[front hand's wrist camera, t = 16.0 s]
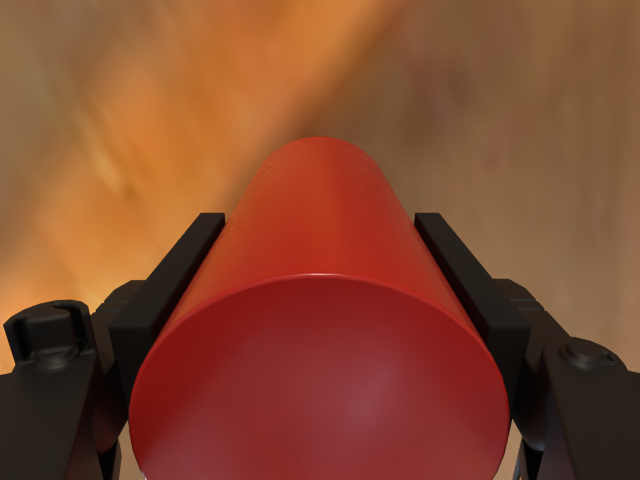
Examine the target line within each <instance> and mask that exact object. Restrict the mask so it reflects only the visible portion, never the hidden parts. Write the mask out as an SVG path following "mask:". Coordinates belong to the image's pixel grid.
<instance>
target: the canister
mask: <svg viewBox="0 0 640 480" xmlns="http://www.w3.org/2000/svg"><path fill="white" fill-rule="evenodd" d="M509 420H510V412H509V403H508V395H507V391H506V388H505V385H504V381H503V378H502V375H501V373H500V371H499V369H498V367H497V365H496V363H495V361H494V359H493V357H492V355H491V353H490V351H489V350H488V348H487V346H486V345H485V343H484V341H483V340H482V338H481V336H480V335H479V333H478V331H477V330H476V328H475V326H474V325H473V323H472V321H471V320H470V318H469V316H468V315H467V313H466V311H465V310H464V308H463V306H462V305H461V303H460V301H459V300H458V298H457V296H456V295H455V293H454V291H453V290H452V288H451V286H450V285H449V283H448V281H447V280H446V278H445V276H444V275H443V273H442V271H441V270H440V268H439V266H438V265H437V263H436V261H435V260H434V258H433V256H432V255H431V253H430V251H429V250H428V248H427V246H426V245H425V243H424V241H423V240H422V238H421V236H420V235H419V233H418V231H417V230H416V228H415V226H414V225H413V223H412V221H411V220H410V218H409V216H408V215H407V213H406V211H405V210H404V208H403V206H402V205H401V203H400V201H399V200H398V198H397V196H396V195H395V193H394V191H393V190H392V188H391V186H390V185H389V183H388V181H387V180H386V178H385V176H384V175H383V173H382V171H381V170H380V168H379V167H378V166H377V164H376V163H375V162H374V161H373V159H372V158H371V157H370V156H369V155H367V154H366V153H365V152H364V151H363V150H361V149H360V148H358V147H356V146H355V145H353V144H351V143H348V142H346V141H343V140H340V139H336V138H331V137H308V138H303V139H299V140H295V141H293V142H291V143H288V144H286V145H284V146H283V147H281V148H279V149H278V150H276V151H275V152H274V153H273V154H271V155H270V156H269V157H268V158H267V159H266V160H265V161H264V163H263V164H262V165H261V167H260V168H259V169H258V171H257V173H256V174H255V176H254V178H253V179H252V181H251V183H250V184H249V186H248V188H247V189H246V191H245V193H244V194H243V196H242V198H241V199H240V201H239V203H238V204H237V206H236V208H235V209H234V211H233V213H232V214H231V216H230V218H229V219H228V221H227V223H226V224H225V226H224V228H223V229H222V231H221V233H220V234H219V236H218V238H217V239H216V241H215V243H214V244H213V246H212V248H211V249H210V251H209V253H208V254H207V256H206V258H205V259H204V261H203V263H202V264H201V266H200V268H199V269H198V271H197V273H196V274H195V276H194V278H193V279H192V281H191V283H190V284H189V286H188V288H187V289H186V291H185V292H184V294H183V296H182V297H181V299H180V301H179V302H178V304H177V306H176V307H175V309H174V311H173V312H172V314H171V316H170V317H169V319H168V321H167V322H166V324H165V326H164V327H163V329H162V331H161V332H160V334H159V336H158V337H157V339H156V341H155V342H154V344H153V346H152V347H151V349H150V351H149V352H148V354H147V356H146V358H145V360H144V362H143V364H142V365H141V367H140V369H139V371H138V374H137V377H136V380H135V383H134V386H133V389H132V393H131V399H130V406H129V433H130V439H131V444H132V449H133V453H134V455H135V458H136V461H137V463H138V466H139V469H140V470H141V472H142V474H143V476H144V478H145V479H146V480H493V478H494V477H495V475H496V473H497V471H498V469H499V466H500V464H501V461H502V459H503V457H504V454H505V450H506V445H507V441H508V436H509Z"/></svg>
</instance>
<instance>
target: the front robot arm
mask: <svg viewBox="0 0 640 480" xmlns="http://www.w3.org/2000/svg"><path fill="white" fill-rule="evenodd" d="M224 226H225V213H200V215H199V216H198V217H197V218H196V219H195V221H194V222H193V223H192V224H191V226H190V227H189V228H188V229H187V230H186V232H185V233H184V234H183V235H182V237H181V238H180V239H179V240H178V241H177V243H176V244H175V245H174V246H173V248H172V249H171V250H170V251H169V252H168V254H167V255H166V256H165V257H164V259H163V260H162V261H161V262H160V264H159V265H158V266H157V267H156V268H155V270H154V271H153V272H152V273H151V275H150V276H149V277H148V278H147V279H146V280H131V281H129V282H127V283H125V284H124V285H122V286H120V287H118V288H117V289H115V290H114V291H113V292H112V293H111V294H110V295H109V296H108V297H107V298H106V299H105V301H104V303H102V304H101V305H100V306H99V307H98V308H97V309H96V312H93V314H92V315H91V316H90V313H89V308H88V306H87V305H86V304H84V303H83V302H81V301H76V300H55V301H50V302H46V303H41V304H38V305H35V306H32V307H30V308H27V309H24V310H22V311H21V312H19V313H17V314H15V315H13V316H12V317H11V318H9V319H8V320H7V321H6V322H5V323H4V324H3V326H4V329H5V333H6V336H7V339H8V342H9V345H10V348H11V351H12V355H13V358H14V361H15V364H16V365H15V367H14V369H13V371H12V373H8V374H3V375H0V480H119V473H120V465H121V457H122V455H121V449H120V444H119V440H118V437H119V435H120V433H121V431H122V429H123V427H124V426H125V424H126V422H127V420H128V424H129V406H130V399H131V393H132V389H133V386H134V383H135V380H136V377H137V374H138V371H139V369H140V367H141V365H142V364H143V362H144V360H145V358H146V356H147V354H148V352H149V351H150V349H151V347H152V346H153V344H154V342H155V341H156V339H157V337H158V336H159V334H160V332H161V331H162V329H163V327H164V326H165V324H166V322H167V321H168V319H169V317H170V316H171V314H172V312H173V311H174V309H175V307H176V306H177V304H178V302H179V301H180V299H181V297H182V296H183V294H184V292H185V291H186V289H187V288H188V286H189V284H190V283H191V281H192V279H193V278H194V276H195V274H196V273H197V271H198V269H199V268H200V266H201V264H202V263H203V261H204V259H205V258H206V256H207V254H208V253H209V251H210V249H211V248H212V246H213V244H214V243H215V241H216V239H217V238H218V236H219V234H220V233H221V231H222V229H223V228H224ZM414 226H415V228H416V230H417V231H418V233H419V235H420V236H421V238H422V240H423V241H424V243H425V245H426V246H427V248H428V250H429V251H430V253H431V255H432V256H433V258H434V260H435V261H436V263H437V265H438V266H439V268H440V270H441V271H442V273H443V275H444V276H445V278H446V280H447V281H448V283H449V285H450V286H451V288H452V290H453V291H454V293H455V295H456V296H457V298H458V300H459V301H460V303H461V305H462V306H463V308H464V310H465V311H466V313H467V315H468V316H469V318H470V320H471V321H472V323H473V325H474V326H475V328H476V330H477V331H478V333H479V335H480V336H481V338H482V340H483V341H484V343H485V345H486V346H487V348H488V350H489V351H490V353H491V355H492V357H493V359H494V361H495V363H496V365H497V367H498V369H499V371H500V373H501V375H502V378H503V381H504V385H505V388H506V391H507V395H508V403H509V412H510V420H509V432H510V427H511V422H512V419H513V420H514V422H515V424H516V426H517V428H518V429H519V431H520V433H521V435H522V440H521V444H520V448H519V453H518V457H517V461H516V466H515V470H514V475H513V480H519V479H520V476H521V480H640V373H637V372H632V371H628V370H627V368H626V366H625V364H624V363H623V362H622V361H621V359H620V358H619V357H618V356H617V355H616V354H614V353H613V352H611V351H610V350H608V349H607V348H605V347H603V346H601V345H599V344H596V343H594V342H592V341H589V340H585V339H581V338H577V337H570V336H569V335H568V333H567V332H566V331H565V330H564V329H563V328H562V327H561V326H560V325H559V324H558V323H557V322H556V321H555V319H554V318H553V317H552V316H551V315H550V314H549V313H548V312H547V311H544V308H543V307H542V306H541V304H540V303H539V302H538V301H536V299H535V298H534V297H533V296H532V295H531V294H530V293H529V292H528V290H527V289H526V288H524V287H522V286H521V285H519V284H517V283H515V282H513V281H512V280H510V279H492V277H491V276H490V275H489V274H488V273H487V271H486V270H485V269H484V268H483V266H482V265H481V264H480V263H479V262H478V260H477V259H476V258H475V257H474V255H473V254H472V253H471V252H470V251H469V249H468V248H467V247H466V246H465V244H464V243H463V242H462V241H461V239H460V238H459V237H458V236H457V235H456V233H455V232H454V231H453V230H452V228H451V227H450V226H449V225H448V224H447V222H446V221H445V220H444V219H443V217H442V216H441V215H440V214H439V213H415V221H414Z"/></svg>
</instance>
